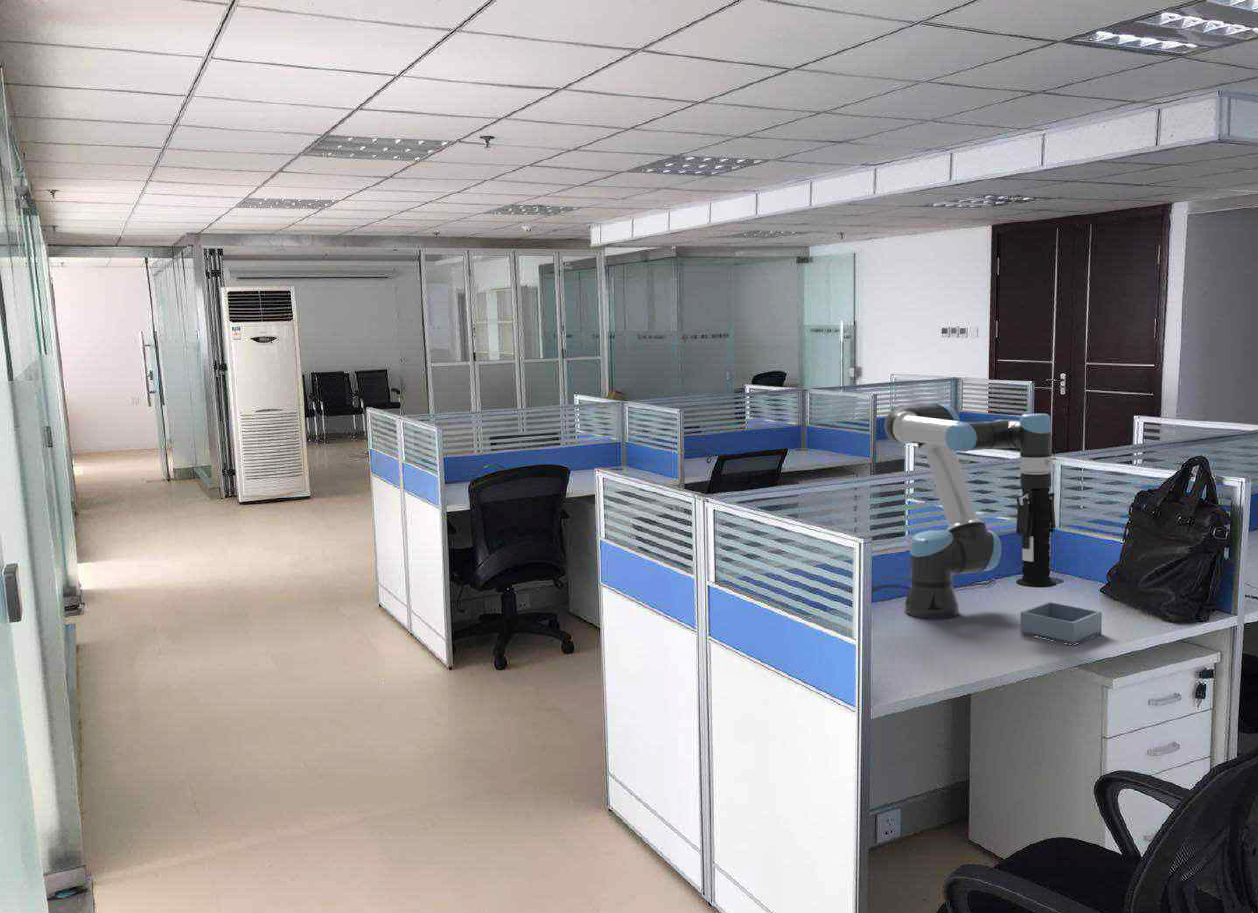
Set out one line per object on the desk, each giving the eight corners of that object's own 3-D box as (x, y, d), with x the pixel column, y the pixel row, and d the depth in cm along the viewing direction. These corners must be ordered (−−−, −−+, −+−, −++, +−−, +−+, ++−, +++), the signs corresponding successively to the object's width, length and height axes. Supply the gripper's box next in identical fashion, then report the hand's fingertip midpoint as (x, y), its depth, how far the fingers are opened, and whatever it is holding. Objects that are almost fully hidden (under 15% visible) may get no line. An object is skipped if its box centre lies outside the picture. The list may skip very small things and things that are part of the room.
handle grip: (1018, 587, 254) (1060, 587, 251) (1018, 487, 251) (1059, 486, 249) (1013, 578, 264) (1053, 579, 261) (1012, 482, 261) (1052, 482, 259)
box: (1020, 633, 260) (1020, 612, 259) (1048, 622, 269) (1049, 601, 268) (1073, 646, 248) (1073, 623, 248) (1101, 633, 257) (1101, 611, 256)
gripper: (1026, 477, 246) (1027, 566, 248) (1070, 469, 257) (1070, 554, 259) (1000, 475, 252) (1001, 562, 254) (1044, 467, 263) (1044, 551, 266)
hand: (1036, 558), depth 257 cm, fingers closed on handle grip, 7 cm apart
